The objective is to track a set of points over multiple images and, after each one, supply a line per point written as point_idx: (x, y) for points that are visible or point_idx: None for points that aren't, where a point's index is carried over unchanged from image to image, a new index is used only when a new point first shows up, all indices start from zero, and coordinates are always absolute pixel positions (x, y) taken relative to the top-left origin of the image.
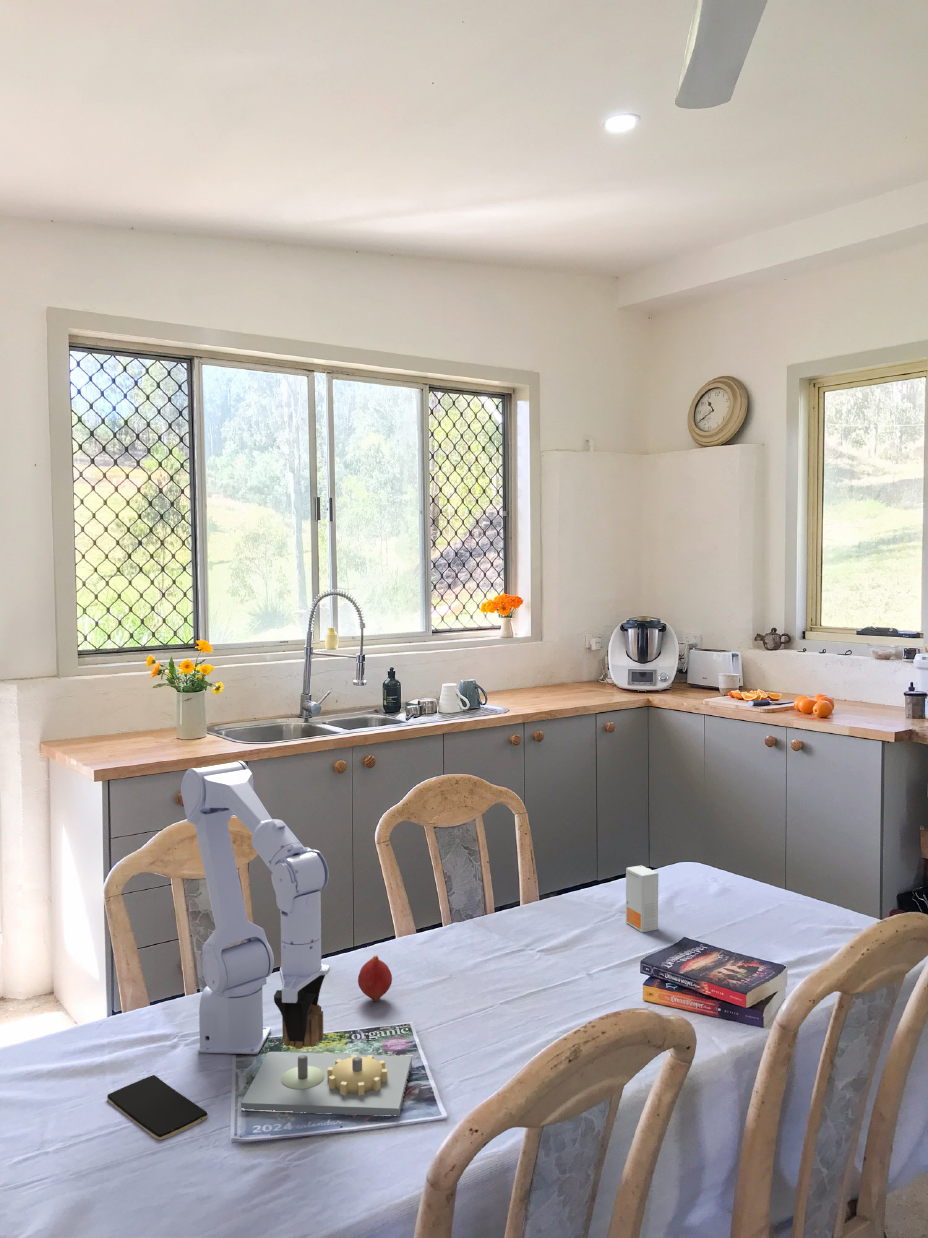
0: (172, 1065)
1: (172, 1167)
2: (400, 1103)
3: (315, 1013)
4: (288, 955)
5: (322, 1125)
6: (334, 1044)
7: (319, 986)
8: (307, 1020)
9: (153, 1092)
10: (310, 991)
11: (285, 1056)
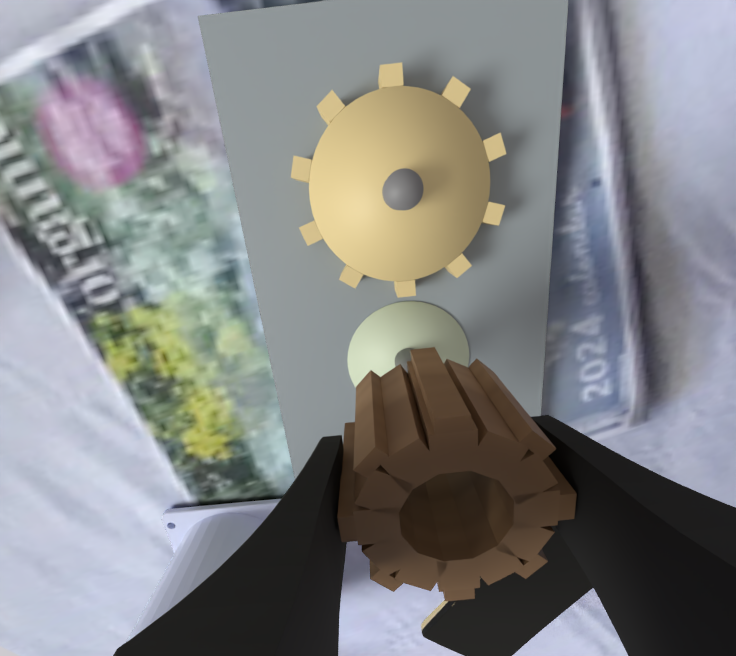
0: (363, 618)
1: (721, 490)
2: None
3: (471, 452)
4: None
5: (589, 239)
6: (171, 337)
7: (305, 577)
8: (604, 468)
9: (483, 614)
10: (320, 585)
11: (308, 437)
